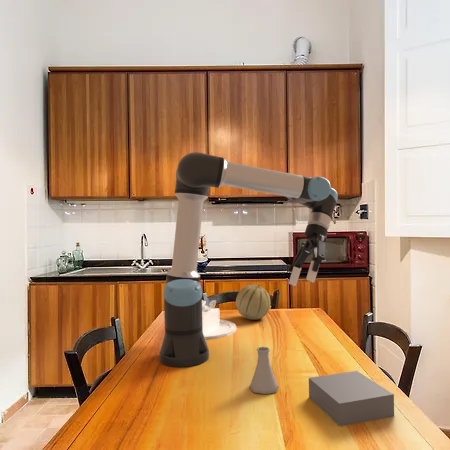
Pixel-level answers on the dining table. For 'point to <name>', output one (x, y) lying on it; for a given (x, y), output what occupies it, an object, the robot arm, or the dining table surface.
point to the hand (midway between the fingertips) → (300, 283)
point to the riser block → (351, 398)
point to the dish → (215, 322)
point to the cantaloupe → (253, 302)
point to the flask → (263, 374)
